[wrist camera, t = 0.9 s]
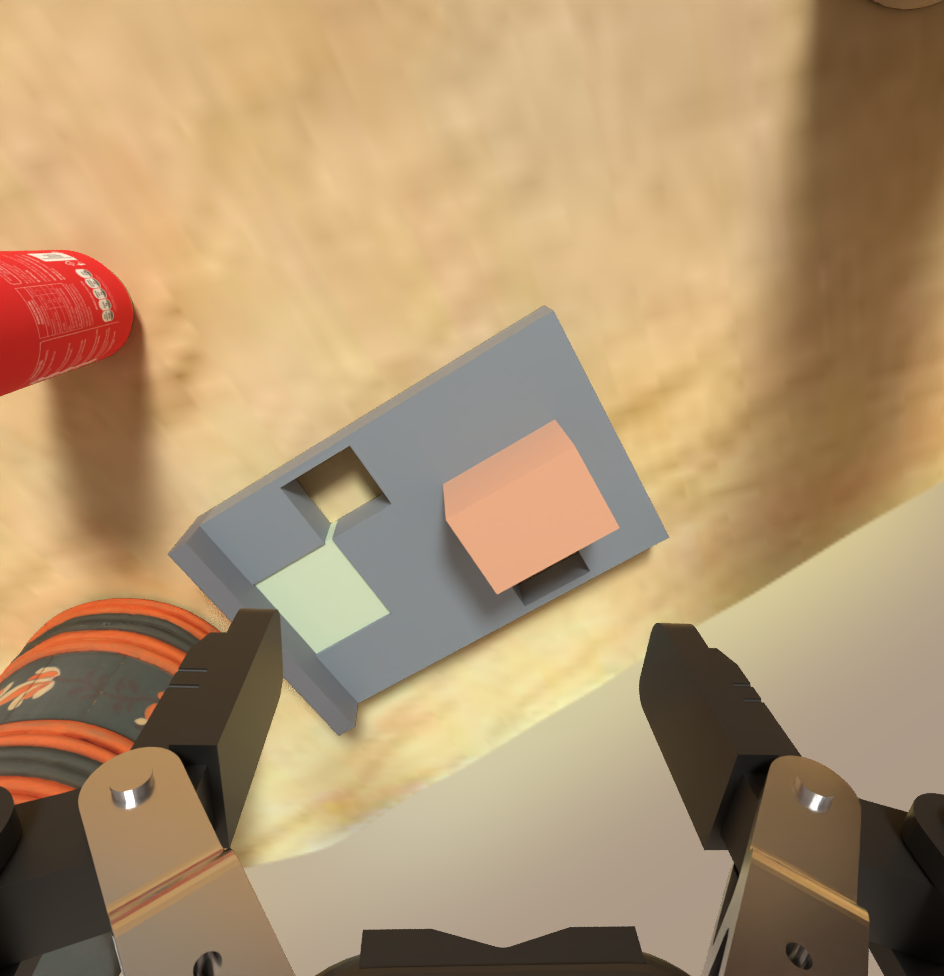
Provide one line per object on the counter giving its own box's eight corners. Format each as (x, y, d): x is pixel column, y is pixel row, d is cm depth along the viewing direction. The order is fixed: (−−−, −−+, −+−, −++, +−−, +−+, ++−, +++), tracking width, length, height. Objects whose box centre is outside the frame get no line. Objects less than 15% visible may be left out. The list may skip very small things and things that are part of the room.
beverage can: (151, 355, 31) (1, 419, 20) (48, 357, 31) (-164, 423, 20) (129, 249, 29) (-52, 253, 18) (18, 250, 29) (-237, 255, 18)
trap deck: (544, 305, 31) (562, 315, 27) (653, 519, 37) (683, 553, 33) (198, 516, 35) (167, 554, 30) (347, 684, 40) (338, 735, 36)
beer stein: (348, 733, 42) (289, 1119, 23) (199, 831, 44) (41, 1248, 26) (135, 550, 35) (-180, 889, 17) (-25, 678, 38) (-451, 1093, 19)
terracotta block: (555, 419, 31) (575, 446, 27) (595, 492, 33) (619, 527, 29) (442, 484, 32) (445, 520, 28) (488, 551, 34) (497, 594, 30)
